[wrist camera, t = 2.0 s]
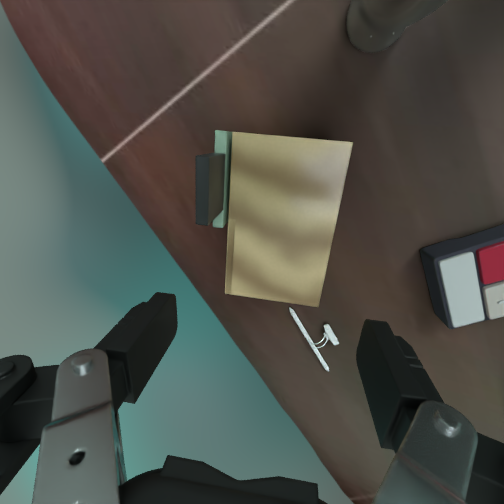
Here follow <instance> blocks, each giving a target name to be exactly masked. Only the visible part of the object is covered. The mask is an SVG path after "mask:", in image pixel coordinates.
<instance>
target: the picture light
mask: <svg viewBox="0 0 504 504" xmlns="http://www.w3.org/2000/svg"><path fill="white" fill-rule="evenodd" d="M289 311H290V313H291V315H292V316H293V318H294V320H295V321H296V323H297V324H298V326H299V328H300V329H301V331H302V333H303V334H304V336H305V337H306V339H307V341H308V342H309V344H310V346H311V347H312V349H313V350H314V352H315V354H316V355H317V357H318V358H319V360H320V362H321V363H322V365H323V367H324V368H325V370H327V371H328V372H329V367H328V365H327V364H326V362H325V361H324V359H323V358H322V356H321V354H320V353H319V351H318V349H317V348H321V347H323V346H324V345H325V344H326V342H327V340H329V339H330V341H331V342H332V343H333V344H334V345H337V344H339V342H338V340H337V338H336V336H335V334H334V333H333V331H332V329H331V327H330V325H329V324H326V325H324V329H325V332H326V334H325V333H324V338H325V337H326V339H327V340H326V342H325V344H324V345H322V346H321V347H316V346H315V345H314V343H313V341H312V340H311V338H310V336H309V335H308V333H307V331H306V330H305V328H304V327H303V325H302V323H301V322H300V320H299V318H298V317H297V315H296V313H295V311H294V310H293V309H292V308H290V307H289ZM324 338H323V339H324ZM328 338H329V339H328ZM323 339H322V340H321V341H320V342H322V341H323ZM320 342H319V343H320ZM315 344H318V343H315Z"/></svg>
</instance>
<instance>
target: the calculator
mask: <svg viewBox="0 0 504 504" xmlns="http://www.w3.org/2000/svg"><path fill="white" fill-rule="evenodd" d="M420 254H421V258H422V263H423V267H424V271H425V275H426V279H427V283H428V287H429V292H430V296H431V300H432V304H433V308H434V312H435V314H436V315H437V316H438V317H439V318H440V320H441V321H442V322H443V323H444V324H445V325H446V326H447V327H448V328H449V329H454V328H458V327H462V326H466V325H470V324H474V323H478V322H482V321H485V320H489V319H495V318H499V317H503V316H504V224H503V225H500V226H497V227H494V228H491V229H487V230H484V231H481V232H478V233H475V234H472V235H469V236H466V237H463V238H458V239H449V240H446V241H443V242H440V243H437V244H434V245H431V246H428V247H425V248H422V249H421V250H420Z"/></svg>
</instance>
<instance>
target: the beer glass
mask: <svg viewBox="0 0 504 504" xmlns="http://www.w3.org/2000/svg"><path fill="white" fill-rule="evenodd" d="M447 1H448V0H352V2H351V4H350V6H349V9H348V13H347V18H346V28H347V34H348V37H349V39H350V41H351V43H352V44H353V45H354V46H355V47H356V48H357V49H358V50H360V51H362V52H365V53H377V52H381V51H383V50H385V49H387V48H389V47H390V46H391V45H393V44H394V43H395V42H396V41H397V40H398V39H399V37H400V36H401V35H402V33H403V32H404V30H405V28H406V27H407V26H410V25H412V24H414V23H416V22H418V21H420V20H421V19H423V18H425V17H426V16H428V15H430V14H431V13H433V12H434V11H436V10H437V9H438V8H439V7H441V6H442V5H443V4H444V3H446V2H447Z"/></svg>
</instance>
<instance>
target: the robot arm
mask: <svg viewBox="0 0 504 504" xmlns="http://www.w3.org/2000/svg"><path fill="white" fill-rule="evenodd" d="M176 331H177V307H176V296H175V295H174V294H167V293H160V292H157V293H155V294H154V295H153V296H152V298H151V299H150V300H149V301H148V302H142V303H141V304H138V305H137V306H135V307H133V308H132V309H131V310H130V311H129V312H128V313H127V314H126V315H125V316H124V318H122V319H121V320H120V321H119V322H118V325H117V324H116V325H115V327H113V329H112V330H111V331H110V332H109V333H108V334H107V335H106V336H105V337H104V338H103V339H102V340H101V341H100V342H99V343H98V344H97V345H96V346H95V347H94V348H93V349H85V350H82V351H79V352H76V353H74V354H72V355H70V356H69V357H67V358H66V359H65V360H64V361H63V362H62V363H61V364H60V365H52V366H43V367H34V365H33V363H32V360H31V358H30V357H28V356H25V355H13V356H9V357H5V358H2V359H0V495H1V494H2V492H3V491H4V490H5V488H6V487H7V486H8V484H9V483H10V482H11V480H12V479H13V478H14V477H15V475H16V474H17V473H18V471H19V470H20V469H21V468H22V466H23V465H24V464H25V462H26V461H27V460H28V458H29V457H30V456H31V454H32V453H33V452H34V451H35V449H36V448H37V447H38V445H39V444H40V450H39V457H38V464H37V471H36V478H35V485H34V492H33V499H32V504H327V503H326V502H324V501H322V500H320V499H319V498H318V485H317V484H316V483H311V482H306V481H301V480H295V479H290V478H285V477H279V476H278V477H269V478H260V479H251V480H236V479H234V478H232V477H230V476H228V475H226V474H225V473H223V472H221V471H219V470H217V469H215V468H214V467H212V466H210V465H208V464H206V463H204V462H201V461H196V460H191V459H186V458H181V457H176V456H170V455H168V456H167V458H166V461H165V463H164V465H163V468H160V469H155V470H151V471H147V472H145V473H142V474H140V475H138V476H135V477H134V478H132V479H130V480H128V481H127V477H126V471H125V464H124V456H123V447H122V439H121V430H120V422H119V414H118V409H119V407H120V406H121V404H122V403H123V402H128V403H134V404H135V402H136V401H137V399H138V397H139V396H140V394H141V392H142V391H143V389H144V387H145V386H146V384H147V382H148V380H149V379H150V377H151V376H152V374H153V372H154V370H155V369H156V367H157V366H158V364H159V362H160V361H161V359H162V357H163V356H164V354H165V352H166V351H167V349H168V347H169V346H170V344H171V342H172V340H173V339H174V337H175V335H176ZM356 360H357V366H358V369H359V373H360V376H361V380H362V383H363V387H364V390H365V394H366V397H367V401H368V404H369V407H370V411H371V414H372V418H373V421H374V425H375V428H376V432H377V435H378V439H379V442H380V446H381V448H386V449H392V450H394V451H395V456H394V458H393V460H392V462H391V464H390V466H389V468H388V471H387V473H386V475H385V477H384V479H383V481H382V483H381V485H380V487H379V489H378V491H377V493H376V496H375V498H374V500H373V502H372V504H504V443H501V442H499V441H496V440H494V439H492V438H489V437H487V436H484V435H482V434H480V433H478V432H476V430H475V428H474V427H473V425H472V424H471V423H470V421H469V420H468V419H467V418H466V417H465V416H464V415H463V414H461V413H460V412H459V411H457V410H456V409H454V408H453V407H451V406H449V405H447V404H445V403H444V402H443V400H442V398H441V397H440V395H439V393H438V391H437V390H436V388H435V386H434V384H433V383H432V381H431V379H430V378H429V376H428V374H427V372H426V371H425V369H423V365H422V364H421V362H420V360H418V357H417V355H416V353H415V352H414V350H413V348H412V346H410V345H409V344H408V343H407V342H406V341H405V340H404V339H403V338H402V337H401V336H394V334H393V332H392V330H391V328H390V326H389V324H388V323H387V322H385V321H377V320H369V319H366V320H365V322H364V325H363V329H362V332H361V336H360V340H359V344H358V347H357V353H356Z"/></svg>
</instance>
